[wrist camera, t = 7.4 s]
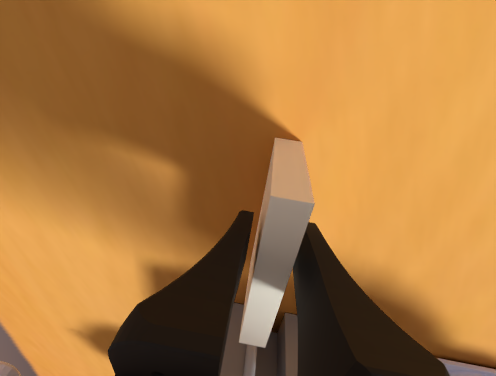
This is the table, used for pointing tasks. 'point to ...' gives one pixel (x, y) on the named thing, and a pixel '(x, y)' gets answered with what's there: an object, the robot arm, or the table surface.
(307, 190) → the white flat block
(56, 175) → the table surface
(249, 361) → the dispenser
